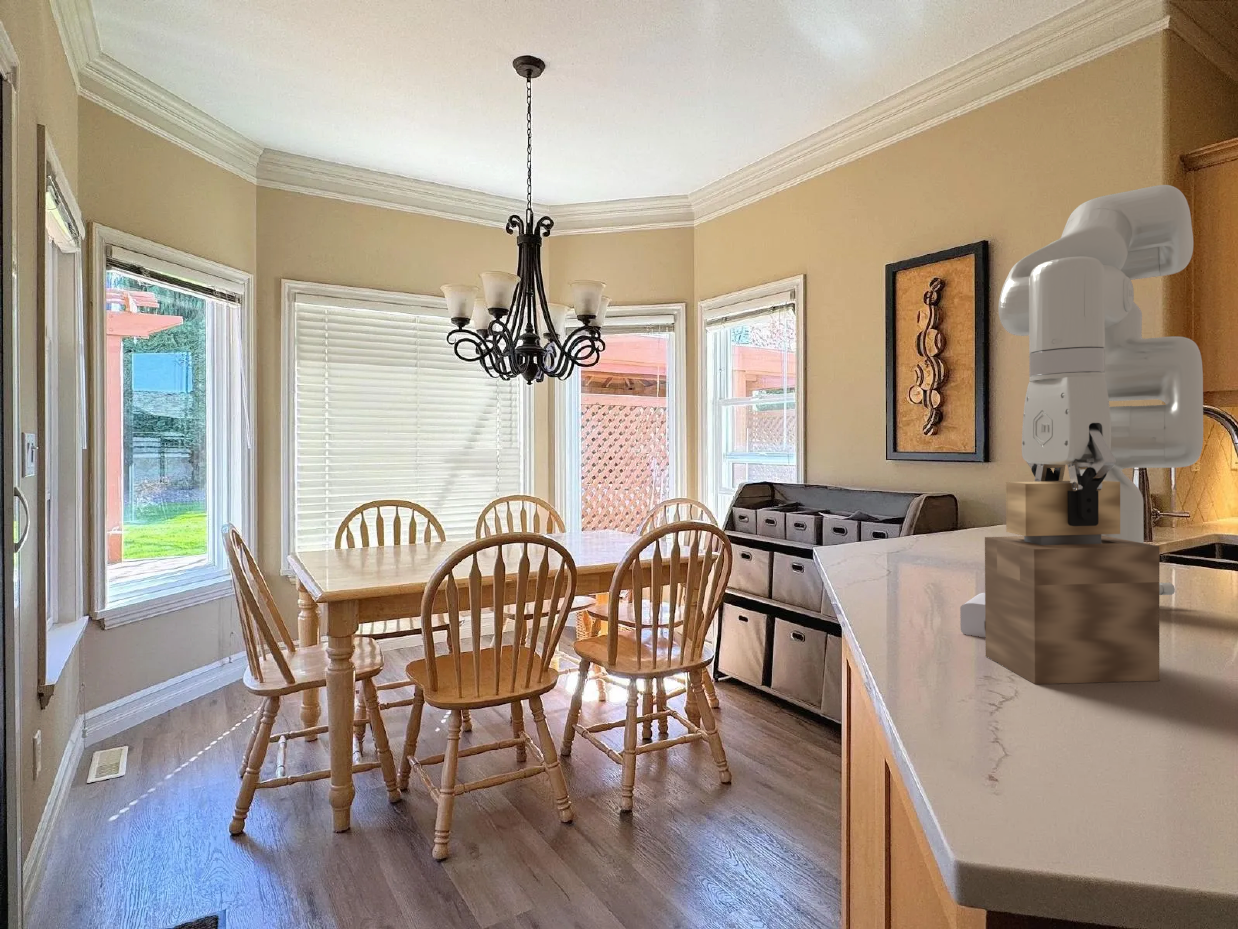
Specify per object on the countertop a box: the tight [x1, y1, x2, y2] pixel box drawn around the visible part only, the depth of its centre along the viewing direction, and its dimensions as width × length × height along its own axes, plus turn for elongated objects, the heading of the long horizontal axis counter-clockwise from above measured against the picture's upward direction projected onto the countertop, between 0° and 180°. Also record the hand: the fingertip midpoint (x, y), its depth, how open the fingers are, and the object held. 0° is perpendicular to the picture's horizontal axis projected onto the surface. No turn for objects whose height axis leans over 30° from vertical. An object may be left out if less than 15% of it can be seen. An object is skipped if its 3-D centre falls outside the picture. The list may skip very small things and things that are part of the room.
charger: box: [959, 591, 985, 638], centre depth 104 cm, size 5×9×15 cm
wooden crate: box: [984, 535, 1160, 685], centre depth 85 cm, size 14×10×15 cm
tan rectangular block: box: [1005, 480, 1120, 545], centre depth 85 cm, size 11×4×11 cm, turn 91°
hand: (1066, 521), depth 85 cm, fingers open, 5 cm apart
